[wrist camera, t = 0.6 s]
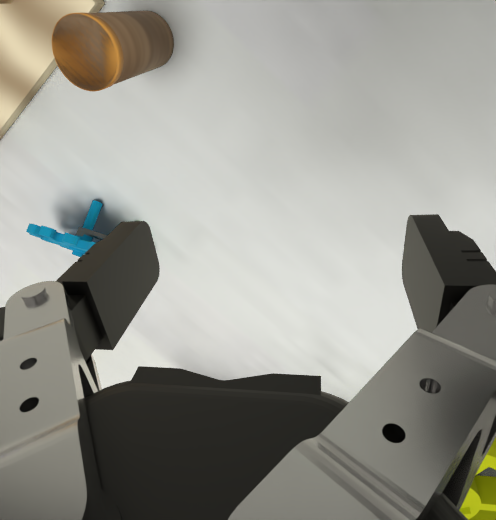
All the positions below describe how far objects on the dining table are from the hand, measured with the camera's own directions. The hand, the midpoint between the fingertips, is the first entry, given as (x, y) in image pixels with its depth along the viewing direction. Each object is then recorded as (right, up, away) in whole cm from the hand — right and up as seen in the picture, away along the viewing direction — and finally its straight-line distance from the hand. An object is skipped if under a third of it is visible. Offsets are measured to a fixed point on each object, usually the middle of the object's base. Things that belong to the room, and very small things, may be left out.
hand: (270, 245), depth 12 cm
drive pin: (-9, +17, +19) cm, 27 cm away
